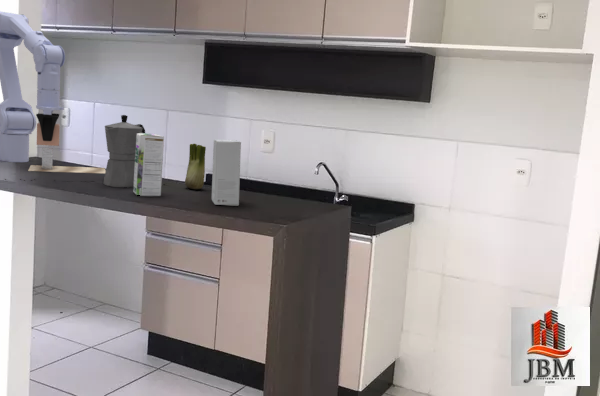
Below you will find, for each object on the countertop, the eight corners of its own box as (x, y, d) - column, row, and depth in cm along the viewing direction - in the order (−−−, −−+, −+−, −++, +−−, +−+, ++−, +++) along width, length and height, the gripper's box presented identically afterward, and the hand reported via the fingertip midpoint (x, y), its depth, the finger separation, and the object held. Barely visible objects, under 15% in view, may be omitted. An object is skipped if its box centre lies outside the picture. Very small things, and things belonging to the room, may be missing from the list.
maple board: (28, 174, 165) (28, 170, 165) (30, 168, 176) (30, 165, 176) (106, 176, 172) (106, 173, 172) (104, 171, 183) (104, 167, 183)
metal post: (41, 168, 170) (42, 148, 169) (42, 167, 173) (42, 148, 172) (52, 169, 171) (52, 149, 170) (52, 168, 174) (52, 148, 173)
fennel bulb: (205, 191, 162) (208, 145, 160) (187, 190, 160) (189, 144, 158) (200, 187, 167) (203, 143, 165) (182, 187, 165) (184, 142, 163)
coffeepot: (121, 189, 153) (123, 116, 150) (89, 185, 156) (91, 113, 153) (156, 183, 167) (159, 116, 164) (127, 179, 170) (130, 113, 168)
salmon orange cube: (36, 144, 167) (37, 123, 167) (37, 142, 173) (37, 122, 172) (58, 145, 169) (59, 125, 168) (59, 144, 175) (59, 124, 174)
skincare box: (239, 206, 143) (243, 142, 141) (212, 205, 142) (216, 140, 139) (234, 200, 151) (238, 139, 149) (209, 199, 150) (213, 137, 148)
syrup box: (132, 192, 150) (134, 132, 148) (157, 192, 153) (159, 133, 151) (136, 196, 145) (139, 134, 143) (162, 196, 148) (165, 135, 146)
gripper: (64, 91, 163) (63, 143, 165) (64, 90, 177) (63, 138, 179) (35, 89, 161) (34, 141, 163) (37, 88, 174) (36, 137, 176)
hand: (47, 139), depth 171 cm, fingers closed on salmon orange cube, 6 cm apart
